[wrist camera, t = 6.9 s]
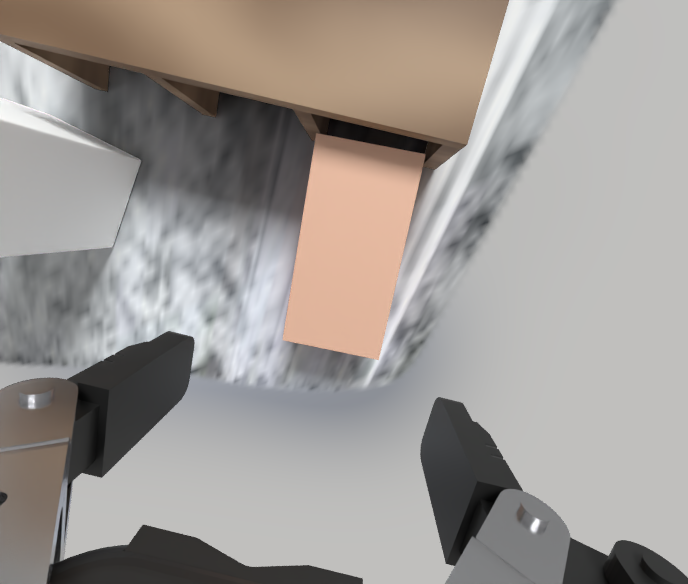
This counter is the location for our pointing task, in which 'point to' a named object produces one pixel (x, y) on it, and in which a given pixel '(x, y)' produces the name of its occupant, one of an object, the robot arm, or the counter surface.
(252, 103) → the counter surface
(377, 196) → the block
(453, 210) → the counter surface
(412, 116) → the wooden bench
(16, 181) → the milk
